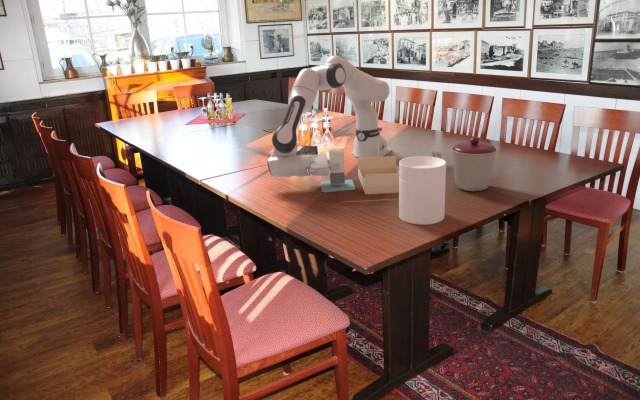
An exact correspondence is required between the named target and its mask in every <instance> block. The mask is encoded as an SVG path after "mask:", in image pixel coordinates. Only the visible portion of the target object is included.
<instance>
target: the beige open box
mask: <svg viewBox="0 0 640 400" xmlns="http://www.w3.org/2000/svg"><path fill="white" fill-rule="evenodd" d="M357 173H358V174H357V175H358V178H359V181H360V184H361V187H362V188H363V192H364V194H365V195H377V194H378V195H380V194H399V168H397V156H396V155H394V156H393V155H392V156H384V157H371V158H358V157H357Z"/></svg>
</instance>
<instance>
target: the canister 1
mask: <svg viewBox="0 0 640 400" xmlns="http://www.w3.org/2000/svg"><path fill="white" fill-rule="evenodd" d="M398 162H399V163H398V165H399V166H398V171H399V193H398V217H399V219H400V220H401V221H403V222H404V223H408V224H414V225H433V224H437V223H440V222H441V221H443V220H444V219H445V212H446V211H445V210H446V209H445V208H446V206H445V205H446V182H447V181H446V179H447V178H446V174H447V161H446V160H445V159H443V158H442V157H441V158H437V157H433V156H426V155H424V156H422V155H421V156H416V155H415V156H410V157H404V158H402V159H400V160H399V161H398Z"/></svg>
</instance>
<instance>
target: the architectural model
mask: <svg viewBox="0 0 640 400" xmlns="http://www.w3.org/2000/svg"><path fill="white" fill-rule="evenodd" d="M431 154H432V157H437V158H441V159H442V152H438V151H435V150H433V151H432V152H431Z"/></svg>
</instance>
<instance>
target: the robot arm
mask: <svg viewBox="0 0 640 400" xmlns="http://www.w3.org/2000/svg"><path fill="white" fill-rule="evenodd" d="M340 87H343V91H344V92H343V93H344V94H345V95H344V96H346V98H347V99H348V100H349V101H350V102H351V105H352V107H353V110H354V113H355V131H354V132H355V137H354V140H353V151H351V154H352V155H353V157H355V158H357V159H358V158H371V157H386V155H388V154H389V153H391V152H392V148H390V147H388V143H387V142H388V141H387V140H386V139H385V138H384V137H383V136H382V135H381V132H382V131H383V127H382V126H381V127H380V126H379V121H378V119H379V118H378V117H379V116H378V115H379V114H378V112H377V110H376V109H375V108H373V106H372V104H371V103H379V102H384V101H387V99H388V97H389V95H390V85H389V84H388V82H386V81H384V80H381V79H378V78H376V77H374V76H373V75H370V74H368V73H367V72H364V71H362V70H361V69H359V68H358V67H356V66H355V65H354V64H353V63H351V62H350V61H349V60H347V59H345V58H344V57H341V56H340V55H336V54H335V55H331V56H329V57H328V58H327V59H326V60H325V62H324V64H320V65H315V66H310V67H307V68H305V67H304V68H303V69H301V70H300V71H299V73H298V74H297V76H296V79H295V81H294V82H293V85H292V88H291V90H290V94H289V101H288V106H287V109H286V111H285V115H284V117H283V120H282V123H281V124H280V125H279V127H278V128H277V129H276V130H275V131H274V133H273V134H272V136H271V137H272V138H271V142H272V146H273V151H272V153H271V154H270V156H269V158H268V159H267V162H266V163H267V168H268V171H269V174H270V176H271V177H274V178H292V177H299V178H301V177H311V176H315V177H316V176H320V177H323V176H328V175H329V176H330V170H334V169H339V168H340V166H339V164H334V165H329V158H328V157H327V156H328V155H325V154H318V155H310V154H304V155H302V156H296V153H297V151H298V135H297V129H298V125H299V124H300V120H301V117H302V115H303V113H307V112H309V111H311V109H312V107H313V106H314V104H315V102H316V101H315V100H316V98H317V94H318V92H319V91H326V90H330V89H331V90H332V89H337V88H340Z"/></svg>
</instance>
